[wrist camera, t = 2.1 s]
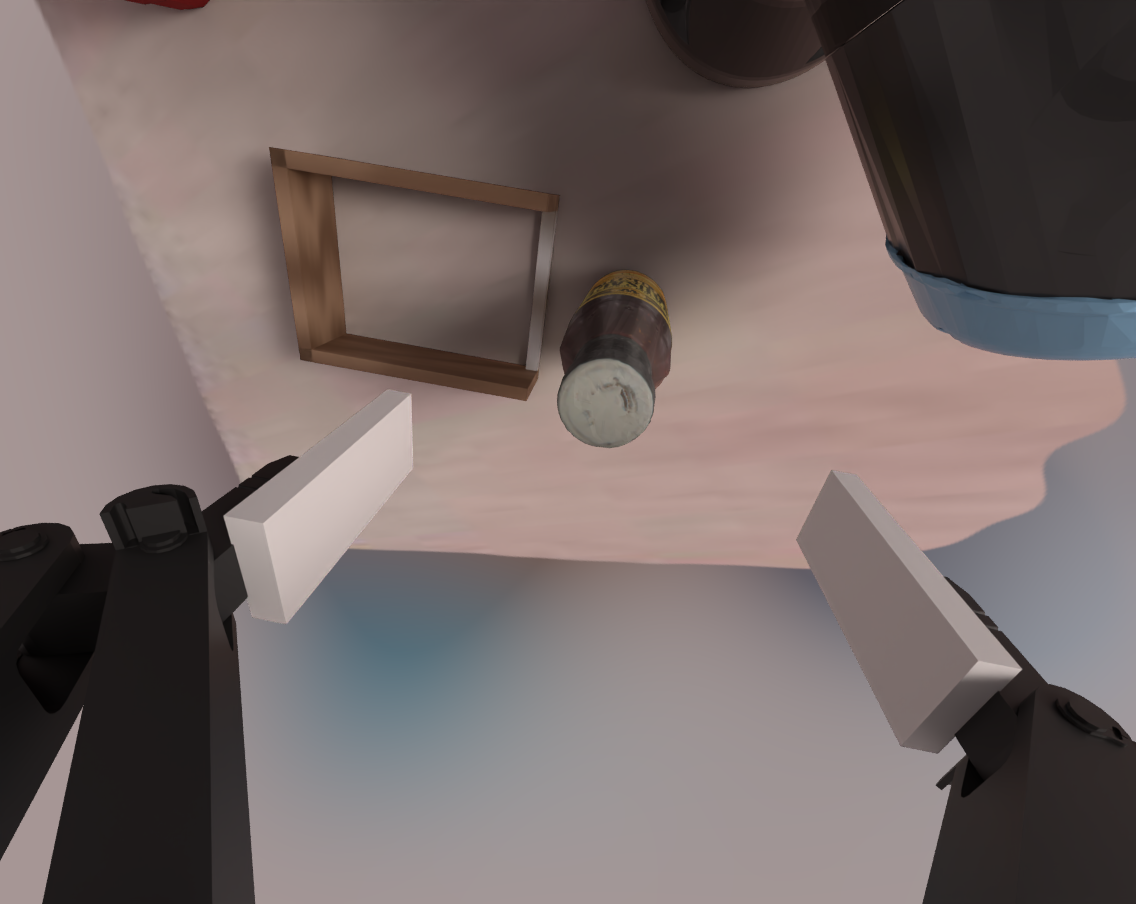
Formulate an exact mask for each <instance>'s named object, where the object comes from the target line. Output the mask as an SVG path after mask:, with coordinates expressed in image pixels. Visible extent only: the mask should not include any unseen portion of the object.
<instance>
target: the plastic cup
mask: <svg viewBox="0 0 1136 904" xmlns="http://www.w3.org/2000/svg"><path fill="white" fill-rule="evenodd" d="M126 1H131V2H136V3H141V4H156V5H160V6H165V7H170V8H175V9H179V10H183V9H194V8H200V7H204V6H205V5H206V4H207V3H208V2H209V1H210V0H126Z"/></svg>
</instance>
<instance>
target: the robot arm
mask: <svg viewBox="0 0 1136 904" xmlns="http://www.w3.org/2000/svg"><path fill="white" fill-rule="evenodd" d="M900 1H901V0H646V2H647V5H648V8H649V11H650V13H651V16H652V18H653V20H654V23H655V24H656V26H657V28H658V30H659V32H660V34H661V35H662V37H663V39H664V40H665V42H666V43H667V45H668V46H669V47H670V49H671V50H672V51H673V52H674V53H675V54H676V56H677V57H678V58H679V59H680V60H681V61H682V62H683V63H685V64H686V65H687V66H688V67H689V68H691V69H692V70H694V71H695V72H697V73H698V74H700V75H702V76H703V77H705V78H707V79H710V80H712V81H714V82H717V83H721V84H724V85H729V86H734V87H762V86H768V85H773V84H777V83H780V82H783V81H786V80H789V79H792V78H794V77H796V76H799V75H801V74H803V73H805V72H807V71H809V70H810V69H812V68H814V67H815V66H817V65H819V64H820V63H821V62H823V61H824V60H826V63H827V66H828V68H829V71H830V74H831V77H832V80H833V82H834V85H835V88H836V91H837V94H838V97H839V100H840V103H841V105H842V108H843V111H844V114H845V117H846V120H847V123H848V125H849V128H850V131H851V134H852V137H853V140H854V143H855V146H856V148H857V151H858V154H859V157H860V160H861V163H862V166H863V168H864V171H865V174H866V177H867V180H868V183H869V186H870V189H871V191H872V194H873V197H874V200H875V203H876V206H877V209H878V212H879V214H880V217H881V220H882V223H883V226H884V229H885V232H886V243H885V245H886V249H887V251H888V254H889V256H890V258H891V259H892V261H893V262H894V263H895V265H896V266H897V267H898V268H899V269H901V270H902V271H903V273H904V275H905V278H906V280H907V282H908V285H909V287H910V289H911V292H912V294H913V296H914V298H915V301H916V303H917V305H918V307H919V309H920V311H921V313H922V314H923V316H924V317H925V318H926V319H927V320H928V322H929V323H930V324H931V325H932V326H933V327H935V328H936V329H938V330H940V331H942V332H945V333H948V334H950V335H951V336H952V337H953V338H954V339H956V340H959V341H960V342H961V343H963V344H966V345H968V346H971V347H974V348H977V349H981V350H985V351H989V352H993V353H998V354H1003V355H1008V356H1015V357H1023V358H1032V359H1045V360H1113V359H1129V358H1136V0H903V1H901V2H900ZM899 2H900V3H899ZM897 3H899V4H897ZM896 4H897V5H896ZM895 5H896V6H895ZM893 6H895V7H893ZM892 7H893V8H892ZM891 8H892V9H891ZM889 9H891V10H889ZM888 10H889V11H888ZM887 11H888V12H887ZM885 12H887V13H885ZM884 13H885V14H884ZM883 14H884V15H883ZM881 15H883V16H881ZM880 16H881V17H880ZM878 17H880V18H879V19H877V18H878ZM876 19H877V20H876ZM874 20H876V21H875V22H873V21H874ZM872 22H873V23H872ZM870 23H872V24H871V25H869V24H870ZM868 25H869V26H868ZM866 26H868V27H867V28H865V27H866ZM864 28H865V29H864ZM863 29H864V30H863ZM862 30H863V31H862ZM412 469H413V443H412V403H411V393H405V392H400V391H394V390H389V389H387V390H386V391H385V392H383V393H382V394H381V395H379V396H378V397H377V398H375V399H374V400H373V401H372V402H370V403H369V404H368V405H366V406H365V407H364V408H362V409H361V410H360V411H359V412H357V413H356V414H355V415H353V416H352V417H351V418H350V419H348V420H347V421H346V422H344V423H343V424H342V425H340V426H339V427H338V428H337V429H335V430H334V431H333V432H331V433H330V434H329V435H327V436H326V437H325V438H324V439H322V440H321V441H320V442H318V443H317V444H316V445H315V446H313V447H312V448H311V449H309V450H308V451H307V452H305V453H304V454H303V455H302V456H300V457H296V456H291V455H289V456H286V457H284V458H281V459H279V460H276V461H274V462H271V463H269V464H267V465H266V466H264V467H263V468H261V469H260V470H259V471H257V472H256V473H254V474H253V475H252V477H251V478H248V479H246V480H245V481H243V482H242V483H241V484H239V487H238V488H237V487H235V488H234V489H232V490H231V491H230V492H228V493H227V494H225V495H224V496H223V497H221V498H220V499H218V500H217V501H216V502H214V503H213V504H212V505H210V506H209V507H207V508H206V509H205V510H203V511H202V512H201V509H200V505H199V502H198V499H197V496H196V494H195V492H194V491H193V490H192V489H190V488H188V487H186V486H180V485H172V484H168V485H155V486H149V487H146V488H141V489H137V490H133V491H131V492H129V493H126V494H124V495H121V496H119V497H117V498H116V499H114V500H113V501H111V502H110V503H108V504H107V505H106V506H105V507H104V508H103V510H102V511H101V513H100V516H101V519H102V521H103V523H104V525H105V528H106V530H107V532H108V534H109V536H110V539H111V541H112V543H100V544H79V543H78V541H77V539H76V537H75V535H74V533H73V531H72V530H71V528H70V527H69V526H66V525H62V524H59V523H38V524H32V525H25V526H20V527H16V528H14V529H9V530H6V531H3V532H0V860H1V858H2V856H3V854H4V853H5V851H6V849H7V847H8V845H9V843H10V841H11V840H12V838H13V836H14V834H15V832H16V830H17V828H18V827H19V825H20V823H21V821H22V819H23V817H24V815H25V813H26V811H27V810H28V808H29V806H30V804H31V802H32V800H33V799H34V797H35V795H36V793H37V791H38V789H39V787H40V785H41V783H42V782H43V780H44V778H45V776H46V774H47V772H48V770H49V768H50V767H51V765H52V763H53V761H54V759H55V757H56V756H57V754H58V752H59V750H60V748H61V746H62V744H63V742H64V741H65V739H66V737H67V735H68V733H69V731H70V729H71V727H72V726H73V724H74V722H75V720H76V718H77V716H78V714H79V712H80V711H81V709H82V707H83V710H82V715H81V720H80V725H79V730H78V734H77V740H76V744H75V749H74V754H73V759H72V763H71V768H70V773H69V778H68V783H67V787H66V792H65V797H64V802H63V807H62V812H61V816H60V821H59V826H58V831H57V836H56V841H55V845H54V850H53V855H52V859H51V864H50V869H49V874H48V879H47V883H46V888H45V894H44V898H43V903H42V904H255V895H254V881H253V866H252V852H251V836H250V822H249V808H248V792H247V778H246V764H245V748H244V735H243V719H242V704H241V690H240V675H239V660H238V646H237V632H236V621H235V618H234V615H233V612H234V611H235V610H236V609H237V608H238V607H239V605H241V603H243V602H244V601H245V599H246V598H247V601H248V605H249V608H250V612H251V615H252V618H257V619H262V620H267V621H273V622H277V623H282V624H287V623H288V622H289V621H290V619H291V618H292V617H293V616H294V614H295V613H296V612H297V611H298V609H299V608H300V607H301V606H302V604H303V603H304V602H305V601H306V599H307V598H308V597H309V596H310V595H311V593H312V592H313V591H314V590H315V588H316V587H317V586H318V585H319V584H320V582H321V581H322V580H323V579H324V577H325V576H326V575H327V574H328V572H329V571H330V570H331V569H332V568H333V566H334V565H335V564H336V563H337V561H338V560H339V559H340V558H341V556H342V555H343V554H344V553H345V552H346V550H347V549H348V548H349V547H350V545H351V544H352V543H353V542H354V540H355V539H356V538H357V537H358V536H359V534H360V533H361V532H362V531H363V529H364V528H365V527H366V526H367V524H368V523H369V522H370V521H371V519H372V518H373V517H374V516H375V515H376V513H377V512H378V511H379V510H380V508H381V507H382V506H383V505H384V503H385V502H386V501H387V500H388V499H389V497H390V496H391V495H392V494H393V492H394V491H395V490H396V489H397V487H398V486H399V485H400V484H401V482H402V481H403V480H404V479H405V478H406V476H407V475H408V474H409V473H410V471H411V470H412ZM796 540H797V542H798V544H799V546H800V548H801V550H802V552H803V554H804V556H805V558H806V560H807V562H808V564H809V566H810V568H811V570H812V572H813V574H814V576H815V578H816V580H817V582H818V584H819V586H820V588H821V590H822V592H823V594H824V596H825V598H826V600H827V602H828V604H829V606H830V608H831V609H832V611H833V613H834V615H835V617H836V619H837V621H838V623H839V625H840V627H841V629H842V631H843V633H844V635H845V637H846V639H847V641H848V643H849V645H850V647H851V649H852V651H853V653H854V655H855V657H856V659H857V661H858V663H859V665H860V667H861V669H862V671H863V673H864V674H865V677H866V679H867V681H868V683H869V685H870V687H871V688H872V691H873V693H874V695H875V696H876V698H877V700H878V702H879V704H880V706H881V708H882V710H883V712H884V714H885V716H886V718H887V720H888V722H889V724H890V726H891V728H892V730H893V732H894V734H895V736H896V738H897V740H898V742H899V744H900V746H903V747H907V748H912V749H917V750H922V751H927V752H932V753H939V752H940V751H941V750H942V749H943V748H944V747H945V746H946V745H947V744H948V743H949V742H950V741H951V740H952V739H953V738H954V737H955V736H956V738H957V740H958V741H959V743H960V745H961V746H962V748H963V749H964V751H965V753H966V756H964V757H963V758H962V759H961V760H960V761H959V762H958V763H957V764H956V765H955V766H954V767H953V768H952V769H951V770H950V771H949V772H947V773H946V774H945V775H944V776H943V777H942V778H941V779H940V780H939V782H938V783H937V784H936V786H937V787H938V788H940V789H941V790H942V789H944V788H945V787H946V786H947V785H951V789H950V793H949V797H948V801H947V806H946V810H945V814H944V818H943V822H942V826H941V830H940V834H939V839H938V842H937V847H936V850H935V855H934V859H933V863H932V867H931V871H930V875H929V879H928V883H927V887H926V891H925V896H924V899H923V904H1136V742H1134V741H1132V740H1131V738H1130V736H1129V735H1128V734H1127V733H1126V732H1125V731H1124V729H1123V728H1122V727H1121V726H1120V725H1119V724H1118V723H1117V722H1116V721H1115V720H1114V719H1113V718H1111V717H1110V716H1109V715H1108V714H1107V713H1106V712H1104V711H1103V710H1102V709H1101V708H1099V707H1098V706H1096V705H1095V704H1093V703H1091V702H1090V701H1089V700H1087V699H1085V698H1084V697H1082V696H1080V695H1078V694H1076V693H1074V692H1072V691H1070V690H1067V689H1066V688H1062V687H1058V686H1055V685H1051V684H1048V683H1047V682H1046V681H1045V680H1044V679H1043V678H1042V677H1041V676H1040V674H1039V673H1038V672H1037V671H1036V670H1035V669H1034V668H1033V667H1032V665H1031V664H1030V663H1029V662H1028V661H1027V660H1026V658H1025V657H1024V656H1023V655H1022V654H1021V653H1020V652H1019V650H1018V649H1017V648H1016V647H1015V646H1014V645H1013V644H1012V643H1011V641H1010V640H1009V639H1008V638H1007V637H1006V636H1005V635H1004V633H1003V632H1002V631H998V627H997V625H996V624H995V623H994V622H993V621H992V620H991V619H990V618H989V616H985V612H984V611H983V610H982V608H981V607H980V606H979V605H978V604H977V603H976V602H975V600H974V599H973V598H972V597H971V596H970V595H969V594H968V593H967V592H966V591H964V590H963V589H962V588H960V587H959V586H958V585H956V584H955V583H954V582H953V581H951V580H950V579H949V578H947V577H943V576H942V574H941V573H940V572H939V571H938V570H937V569H936V567H935V566H934V565H933V564H932V563H931V561H930V560H929V559H928V558H927V557H926V556H925V555H924V553H923V552H922V551H921V550H920V549H919V547H918V546H917V545H916V544H915V543H914V541H913V540H912V539H911V538H910V537H909V536H908V534H907V533H906V532H905V531H904V530H903V529H902V527H901V526H900V525H899V524H898V523H897V522H896V520H895V519H894V518H893V517H892V516H891V514H890V513H889V512H888V511H887V510H886V509H885V507H884V506H883V505H882V504H881V503H880V502H879V500H878V499H877V498H876V497H875V496H874V495H873V493H872V492H871V491H870V490H869V489H868V487H867V486H866V485H865V484H864V483H863V482H862V480H861V479H860V478H859V477H858V476H857V475H856V474H851V473H845V472H840V471H834V470H831V472H830V474H829V476H828V478H827V480H826V482H825V484H824V486H823V487H822V489H821V491H820V493H819V495H818V497H817V499H816V501H815V503H814V505H813V507H812V509H811V511H810V513H809V515H808V517H807V519H806V521H805V523H804V525H803V527H802V529H801V531H800V533H799V535H798V537H797V539H796ZM83 705H84V706H83Z"/></svg>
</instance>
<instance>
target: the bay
mask: <svg viewBox="0 0 1136 904" xmlns="http://www.w3.org/2000/svg"><path fill="white" fill-rule="evenodd" d="M269 150H270V157H271V163H272V170H273V177H274V184H275V190H276V197H277V204H278V211H279V217H280V224H281V231H282V238H283V244H284V251H285V258H286V265H287V271H288V278H289V285H290V292H291V298H292V305H293V312H294V319H295V325H296V332H297V339H298V346H299V352H300V359H301V360H304V361H310V362H315V363H321V364H326V365H332V366H337V367H343V368H348V369H354V370H359V371H364V372H370V373H375V374H381V375H386V376H392V377H397V378H403V379H408V380H414V381H419V382H425V383H430V384H436V385H441V386H447V387H452V388H458V389H463V390H469V391H474V392H480V393H485V394H491V395H496V396H502V397H507V398H513V399H518V400H524V401H527V399H528V397H529V395H530V393H531V391H532V389H533V387H534V385H535V383H536V381H537V379H538V372H539V364H540V355H541V347H542V338H543V330H544V322H545V313H546V305H547V296H548V288H549V280H550V271H551V263H552V254H553V246H554V238H555V229H556V221H557V212H558V204H559V196H560V195H554V194H548V193H542V192H536V191H530V190H525V189H519V188H513V187H507V186H501V185H495V184H489V183H483V182H477V181H471V180H465V179H459V178H453V177H447V176H441V175H435V174H429V173H423V172H417V171H411V170H405V169H399V168H394V167H388V166H382V165H376V164H370V163H364V162H358V161H352V160H346V159H340V158H334V157H328V156H322V155H316V154H310V153H303V152H297V151H291V150H284V149H278V148H272V147H269ZM332 176H336V177H342V178H348V179H354V180H360V181H366V182H372V183H378V184H384V185H390V186H396V187H401V188H407V189H413V190H419V191H425V192H431V193H437V194H443V195H449V196H455V197H461V198H466V199H472V200H478V201H484V202H490V203H496V204H502V205H508V206H514V207H520V208H526V209H531V210H537V211H542V217H541V227H540V236H539V246H538V255H537V265H536V275H535V284H534V294H533V303H532V313H531V322H530V332H529V342H528V351H527V361H526V366H524V365H518V364H513V363H507V362H502V361H496V360H491V359H485V358H480V357H474V356H468V355H463V354H457V353H452V352H446V351H441V350H435V349H429V348H424V347H418V346H413V345H407V344H402V343H396V342H391V341H385V340H379V339H374V338H368V337H363V336H357V335H352V334H346V325H345V314H344V304H343V293H342V282H341V272H340V261H339V251H338V240H337V229H336V219H335V208H334V198H333V187H332Z"/></svg>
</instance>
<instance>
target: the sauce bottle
mask: <svg viewBox="0 0 1136 904" xmlns="http://www.w3.org/2000/svg"><path fill="white" fill-rule="evenodd" d="M671 348H672V334H671V328H670V322H669V316H668V310H667V305H666V300H665V297H664V294H663V292H662V290H661V289H660V287H659V286H658V285H657V284H656V282H654V281H653V280H652V279H651V278H649V277H648V276H646V275H644V274H642V273H639V272H637V271H631V270H621V271H615V272H612V273H610V274H608V275H606V276H604V277H603V278H601V279H600V280H599V281H598V282H597V283H596V284H595V285H594V286H593V287H592V288H591V290H590V291H589V293H588V294H587V296H586V298H585V299H584V301H583V302H582V304H581V305H580V307H579V308H578V310H577V311H576V312H575V314H574V315H573V317H572V319H571V321H570V323H569V326H568V328H567V331H566V334H565V336H564V339H563V341H562V344H561V346H560V354H561V359H562V365H563V370H564V374H565V375H564V377H563V379H562V382H561V385H560V388H559V391H558V395H557V396H558V398H557V406H558V411H559V415H560V418H561V420H562V422H563V423H564V425H565V427H566V429H567V430H568V431H569V432H570V433H571V434H572V435H573V436H574V437H576V438H577V439H579V440H580V441H582V442H584V443H585V444H588V445H591V446H596V447H605V448H614V447H619V446H622V445H625V444H627V443H629V442H631V441H632V440H634V439H636V438H637V437H638V436H639V435H640V434H641V433H642V432H644V430H645V429H646V428H647V426H648V424H649V423H650V421H651V418H652V415H653V412H654V403H655V389H656V387H658V386H659V385H660V384H661V383H662V381H663V379H664V378H665V377H666V376H667V375H668V374H669V371H670V362H671Z"/></svg>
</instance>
